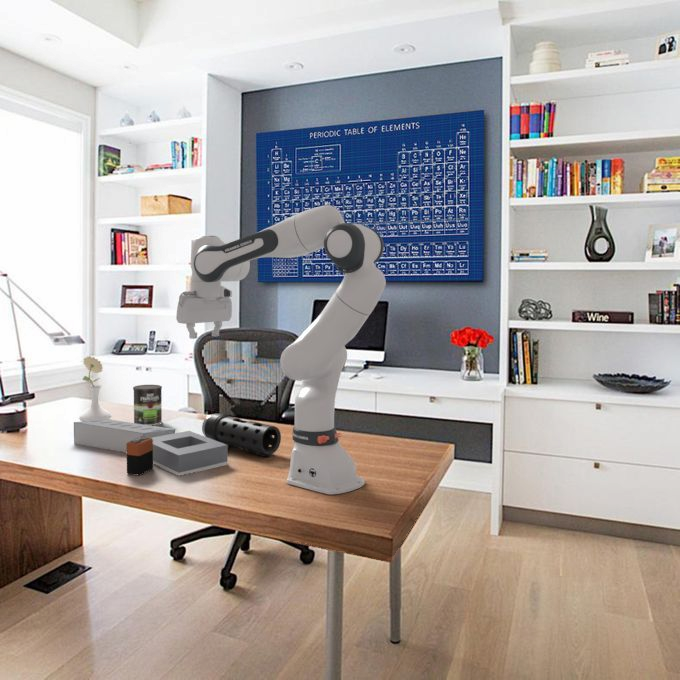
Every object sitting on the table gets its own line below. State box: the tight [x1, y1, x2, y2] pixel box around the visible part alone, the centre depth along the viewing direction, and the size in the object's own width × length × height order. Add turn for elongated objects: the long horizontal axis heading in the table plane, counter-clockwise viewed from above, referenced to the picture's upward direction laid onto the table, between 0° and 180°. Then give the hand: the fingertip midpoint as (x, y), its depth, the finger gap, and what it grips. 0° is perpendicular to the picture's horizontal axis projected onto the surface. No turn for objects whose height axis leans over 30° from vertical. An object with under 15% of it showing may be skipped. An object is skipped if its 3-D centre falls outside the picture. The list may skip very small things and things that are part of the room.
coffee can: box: [132, 384, 163, 426], centre depth 223 cm, size 10×10×14 cm
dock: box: [152, 430, 229, 476], centre depth 176 cm, size 22×16×6 cm
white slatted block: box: [73, 418, 176, 453], centre depth 194 cm, size 30×14×8 cm, turn 66°
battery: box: [126, 435, 154, 476], centre depth 166 cm, size 4×7×10 cm, turn 164°
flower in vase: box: [78, 356, 112, 422], centre depth 224 cm, size 13×11×25 cm
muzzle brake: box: [201, 412, 282, 458], centre depth 190 cm, size 10×28×10 cm, turn 53°
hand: (204, 337), depth 176 cm, fingers open, 8 cm apart
